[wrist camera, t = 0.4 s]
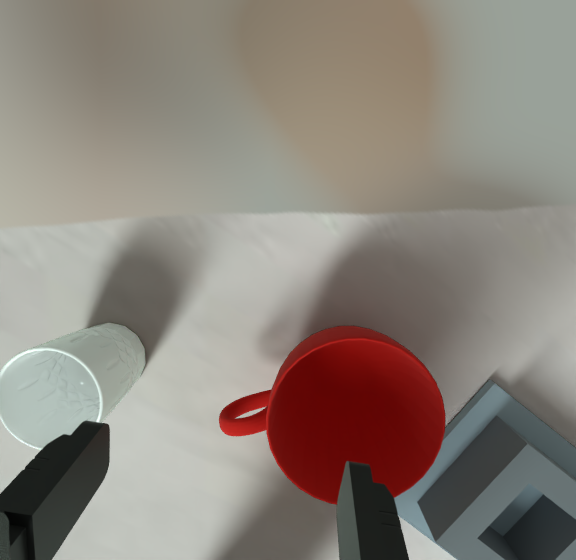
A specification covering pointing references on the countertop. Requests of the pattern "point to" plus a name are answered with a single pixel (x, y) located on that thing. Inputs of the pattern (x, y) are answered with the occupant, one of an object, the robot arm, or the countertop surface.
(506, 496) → the socket block
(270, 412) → the ceramic cup
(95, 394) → the white cup
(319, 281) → the countertop surface
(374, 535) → the robot arm
